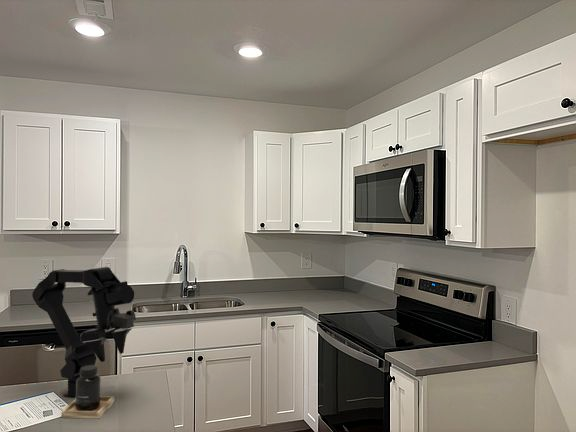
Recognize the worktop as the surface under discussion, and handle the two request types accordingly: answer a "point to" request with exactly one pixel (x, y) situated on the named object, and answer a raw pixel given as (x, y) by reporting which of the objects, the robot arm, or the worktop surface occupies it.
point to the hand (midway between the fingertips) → (112, 357)
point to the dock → (97, 413)
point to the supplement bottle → (88, 389)
